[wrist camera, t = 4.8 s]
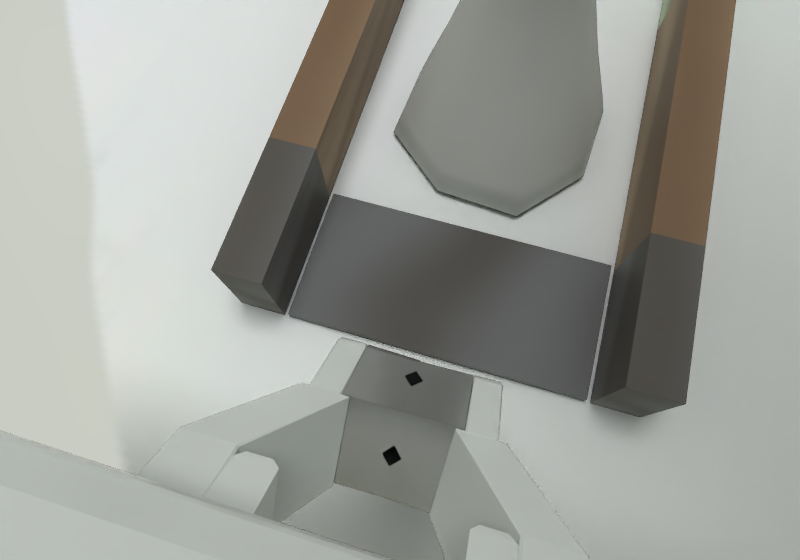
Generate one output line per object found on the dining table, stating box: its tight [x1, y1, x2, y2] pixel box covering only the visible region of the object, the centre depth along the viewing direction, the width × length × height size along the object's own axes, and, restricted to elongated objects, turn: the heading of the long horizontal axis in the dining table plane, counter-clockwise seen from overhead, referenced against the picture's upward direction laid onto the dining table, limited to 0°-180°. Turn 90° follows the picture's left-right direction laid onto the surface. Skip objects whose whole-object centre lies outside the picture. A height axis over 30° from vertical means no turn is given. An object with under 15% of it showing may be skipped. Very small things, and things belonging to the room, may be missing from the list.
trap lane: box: [211, 0, 736, 417], centre depth 21 cm, size 13×27×3 cm, turn 163°
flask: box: [394, 0, 603, 216], centre depth 16 cm, size 7×7×10 cm
